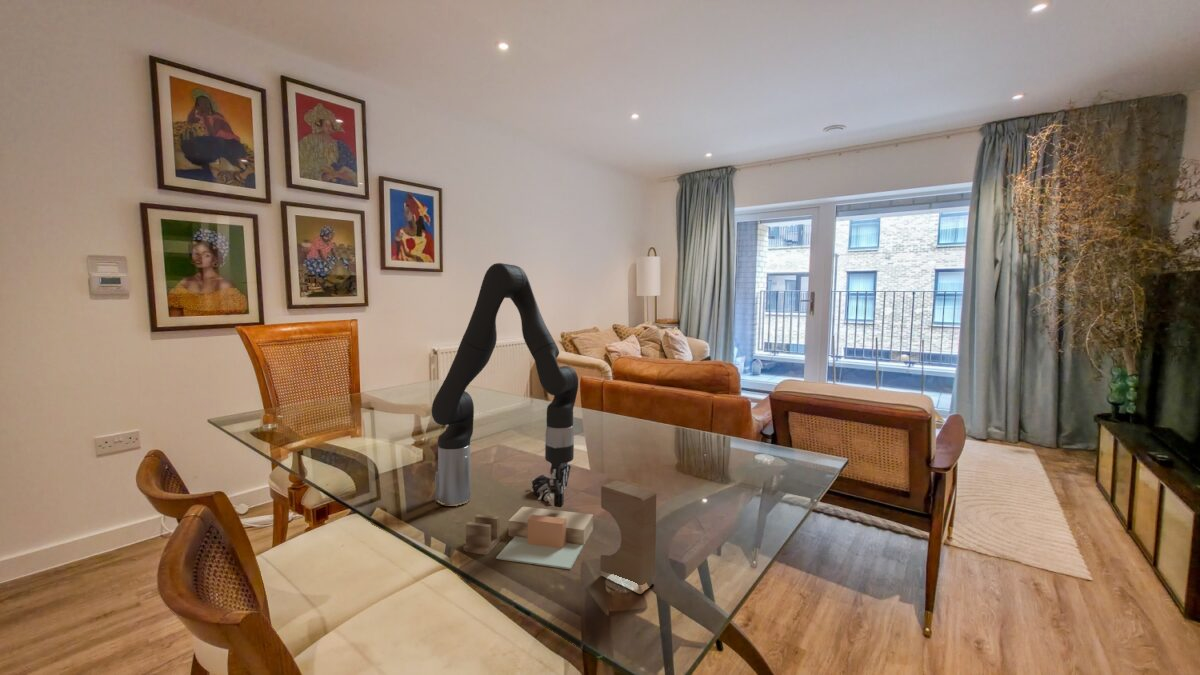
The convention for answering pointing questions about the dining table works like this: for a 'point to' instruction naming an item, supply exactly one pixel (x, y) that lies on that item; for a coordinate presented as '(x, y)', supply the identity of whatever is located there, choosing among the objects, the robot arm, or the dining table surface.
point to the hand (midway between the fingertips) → (558, 506)
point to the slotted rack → (482, 534)
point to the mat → (540, 553)
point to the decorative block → (631, 531)
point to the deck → (576, 523)
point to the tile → (547, 531)
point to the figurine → (542, 488)
